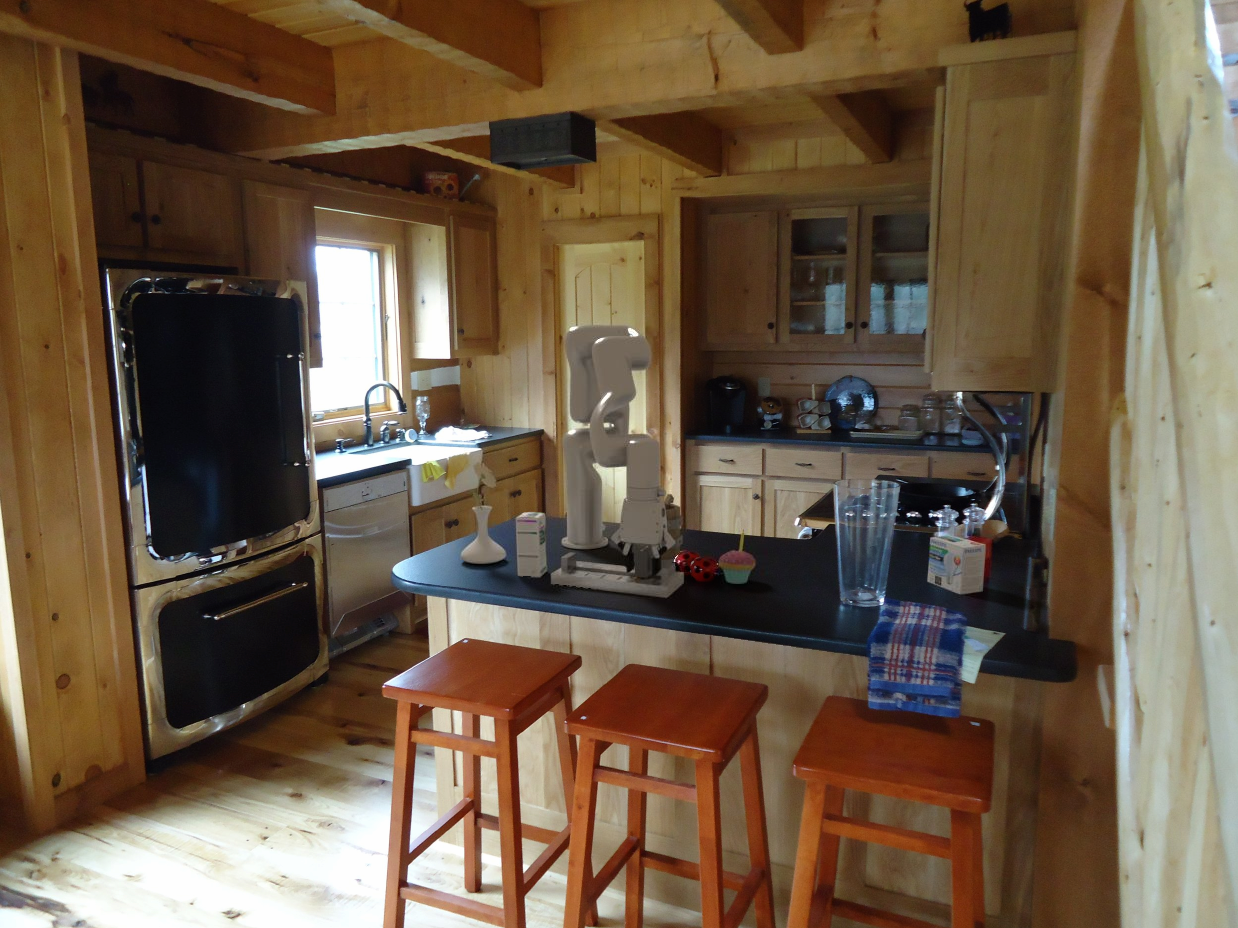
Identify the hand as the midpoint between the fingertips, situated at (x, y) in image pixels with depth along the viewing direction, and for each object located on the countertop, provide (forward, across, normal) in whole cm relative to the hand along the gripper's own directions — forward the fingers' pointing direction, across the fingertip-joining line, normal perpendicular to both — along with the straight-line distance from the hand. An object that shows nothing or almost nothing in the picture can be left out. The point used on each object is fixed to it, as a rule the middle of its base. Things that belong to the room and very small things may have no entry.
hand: (642, 571), depth 198 cm
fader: (+1, 0, 0) cm, 1 cm away
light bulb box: (+4, -66, -26) cm, 71 cm away
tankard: (+4, +4, -26) cm, 27 cm away
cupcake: (+4, -19, -12) cm, 23 cm away
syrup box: (+4, +28, 0) cm, 28 cm away
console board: (+3, +6, 0) cm, 7 cm away
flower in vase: (+4, +45, -6) cm, 46 cm away
